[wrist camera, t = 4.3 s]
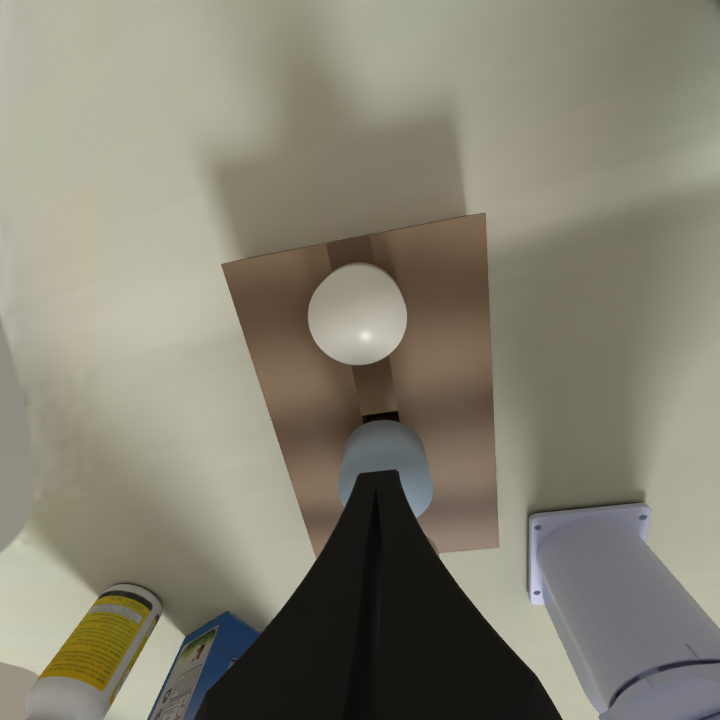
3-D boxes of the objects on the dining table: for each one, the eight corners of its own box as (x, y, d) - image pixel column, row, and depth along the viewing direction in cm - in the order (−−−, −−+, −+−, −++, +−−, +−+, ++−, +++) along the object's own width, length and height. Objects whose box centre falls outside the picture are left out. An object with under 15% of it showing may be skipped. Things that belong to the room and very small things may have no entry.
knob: (404, 328, 18) (413, 357, 14) (332, 339, 18) (320, 371, 14) (393, 251, 16) (399, 259, 12) (315, 266, 17) (297, 278, 13)
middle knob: (423, 457, 18) (437, 521, 14) (353, 465, 19) (347, 530, 15) (414, 394, 17) (427, 446, 13) (339, 405, 17) (328, 458, 13)
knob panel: (484, 510, 24) (499, 547, 21) (324, 527, 25) (318, 564, 22) (466, 215, 17) (485, 212, 14) (244, 258, 18) (221, 264, 15)
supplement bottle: (93, 582, 29) (-37, 746, 20) (151, 579, 28) (46, 745, 19) (117, 621, 31) (9, 787, 22) (172, 620, 30) (85, 788, 21)
